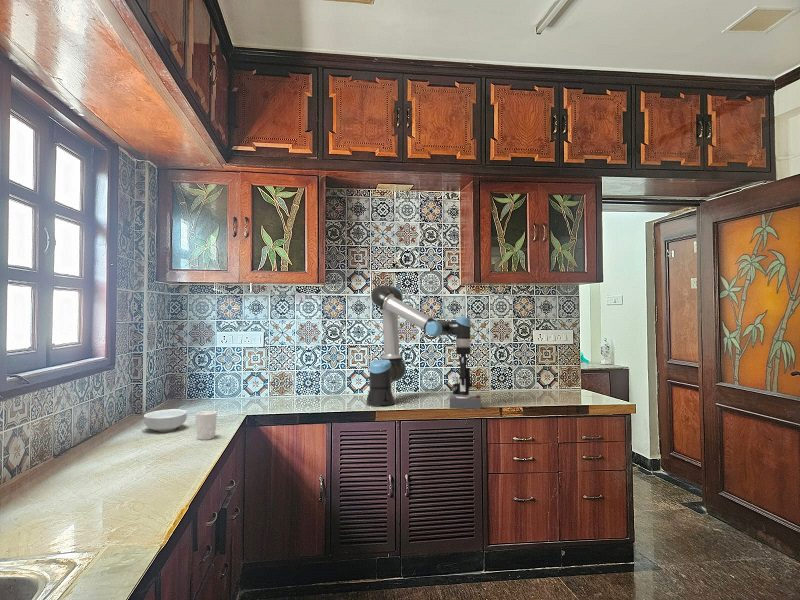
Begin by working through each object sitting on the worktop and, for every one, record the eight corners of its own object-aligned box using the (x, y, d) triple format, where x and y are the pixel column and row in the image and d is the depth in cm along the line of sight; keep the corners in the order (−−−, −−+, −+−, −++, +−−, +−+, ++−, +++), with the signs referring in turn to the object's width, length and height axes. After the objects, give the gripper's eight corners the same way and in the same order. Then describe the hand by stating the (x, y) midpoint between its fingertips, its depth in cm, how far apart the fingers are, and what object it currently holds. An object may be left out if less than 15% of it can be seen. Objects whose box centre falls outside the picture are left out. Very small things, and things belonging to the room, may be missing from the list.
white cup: (198, 441, 193) (198, 415, 194) (193, 437, 200) (193, 412, 200) (219, 438, 198) (219, 413, 198) (213, 434, 204) (213, 409, 205)
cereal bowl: (135, 430, 210) (135, 414, 210) (172, 423, 224) (172, 407, 224) (157, 436, 201) (158, 419, 201) (194, 428, 215) (194, 412, 215)
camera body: (449, 407, 257) (449, 396, 257) (450, 405, 265) (450, 394, 265) (480, 409, 254) (480, 397, 254) (481, 406, 262) (481, 395, 262)
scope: (456, 367, 267) (474, 367, 263) (456, 393, 266) (474, 394, 262) (451, 368, 259) (470, 369, 255) (451, 394, 258) (470, 396, 254)
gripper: (469, 348, 249) (469, 393, 249) (471, 345, 270) (471, 387, 269) (454, 348, 251) (454, 392, 250) (457, 345, 271) (457, 386, 271)
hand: (463, 389), depth 260 cm, fingers closed on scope, 8 cm apart
